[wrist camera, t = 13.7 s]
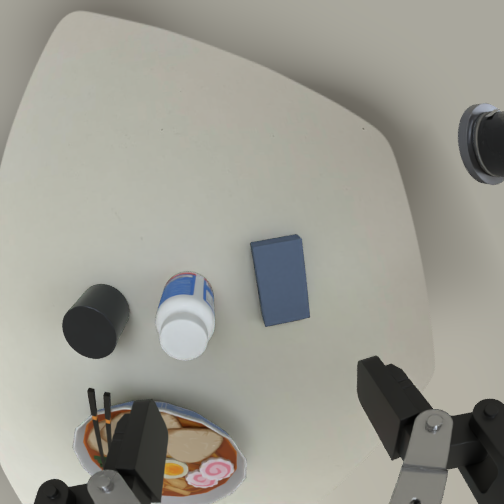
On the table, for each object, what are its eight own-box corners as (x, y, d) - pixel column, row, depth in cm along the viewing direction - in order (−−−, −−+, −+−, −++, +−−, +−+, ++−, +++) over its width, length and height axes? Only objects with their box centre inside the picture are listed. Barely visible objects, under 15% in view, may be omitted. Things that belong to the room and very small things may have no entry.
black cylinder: (131, 289, 34) (117, 313, 28) (128, 336, 35) (115, 364, 29) (82, 279, 33) (61, 300, 27) (81, 325, 34) (63, 351, 28)
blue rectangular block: (250, 242, 34) (252, 247, 32) (296, 234, 34) (301, 238, 32) (262, 318, 36) (265, 327, 34) (305, 309, 37) (310, 317, 35)
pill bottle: (156, 303, 34) (139, 350, 25) (176, 261, 33) (163, 299, 24) (201, 324, 36) (198, 376, 26) (222, 284, 35) (227, 328, 25)
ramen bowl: (225, 483, 44) (228, 520, 36) (92, 460, 40) (82, 496, 33) (262, 377, 38) (272, 421, 31) (82, 343, 35) (58, 382, 27)
